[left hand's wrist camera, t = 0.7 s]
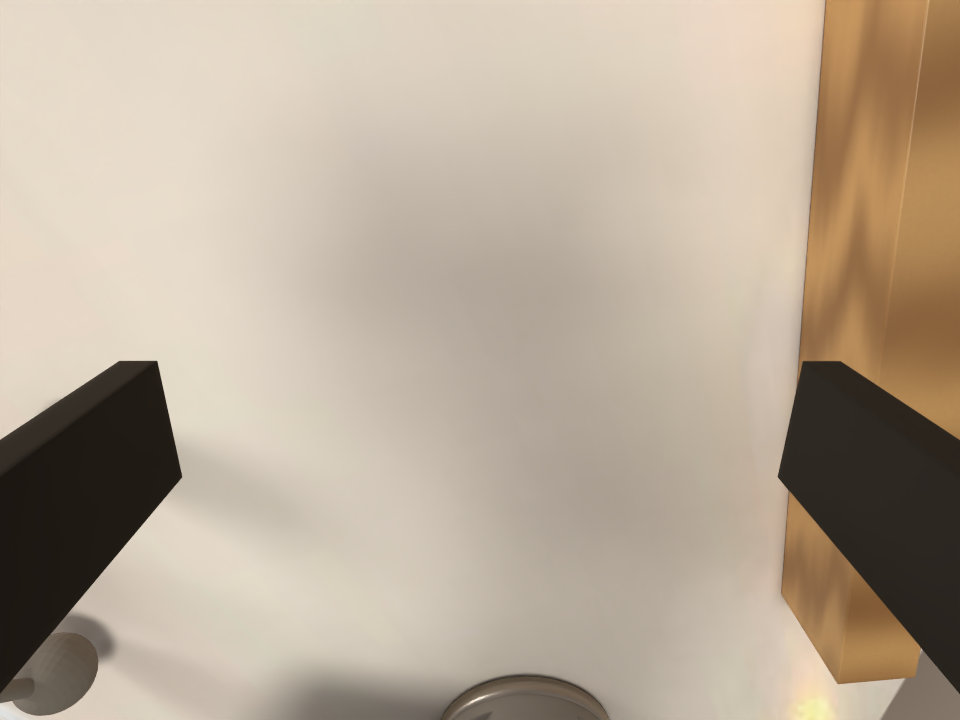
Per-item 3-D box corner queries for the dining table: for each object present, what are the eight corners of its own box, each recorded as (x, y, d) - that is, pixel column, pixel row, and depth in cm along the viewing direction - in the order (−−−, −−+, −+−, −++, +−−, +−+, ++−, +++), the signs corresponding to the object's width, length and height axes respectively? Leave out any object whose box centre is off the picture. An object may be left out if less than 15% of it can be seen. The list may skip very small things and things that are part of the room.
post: (846, 587, 46) (915, 677, 38) (781, 594, 46) (837, 684, 39) (1065, -1122, 19) (1428, -1889, 12) (906, -1083, 19) (1164, -1809, 12)
